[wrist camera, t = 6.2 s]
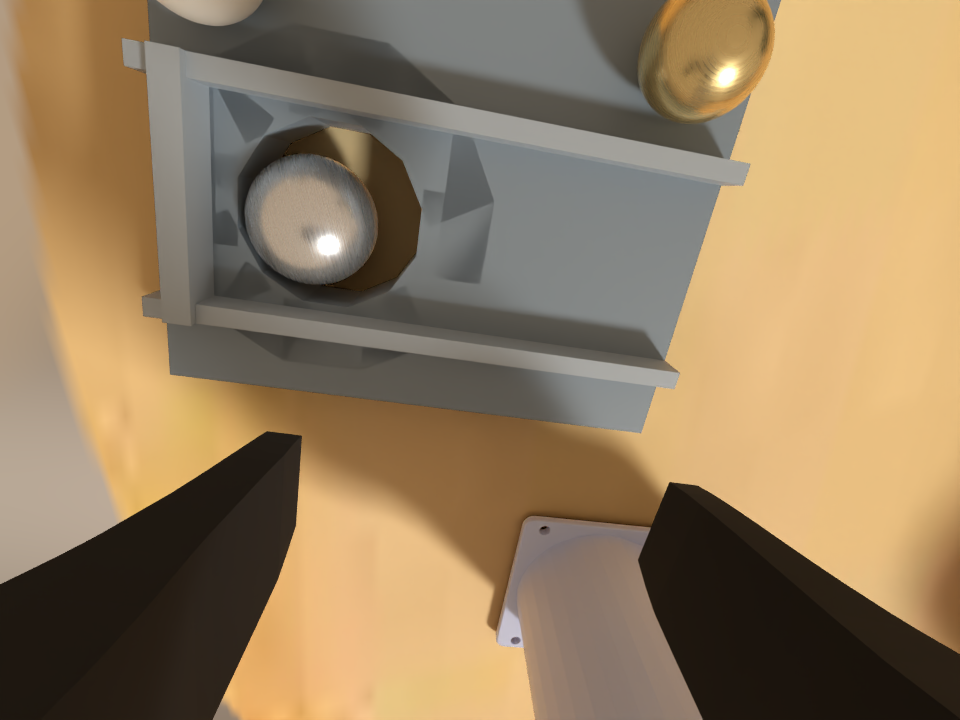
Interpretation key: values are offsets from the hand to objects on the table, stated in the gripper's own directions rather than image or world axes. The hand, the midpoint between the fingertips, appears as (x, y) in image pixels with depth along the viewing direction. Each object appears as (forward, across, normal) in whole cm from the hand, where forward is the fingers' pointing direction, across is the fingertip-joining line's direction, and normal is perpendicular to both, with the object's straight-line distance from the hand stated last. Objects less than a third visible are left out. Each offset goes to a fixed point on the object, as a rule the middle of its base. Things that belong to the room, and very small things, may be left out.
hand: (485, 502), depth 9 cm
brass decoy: (+6, -4, -10) cm, 12 cm away
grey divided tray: (+11, +1, -5) cm, 12 cm away
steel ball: (+9, +6, -4) cm, 11 cm away
